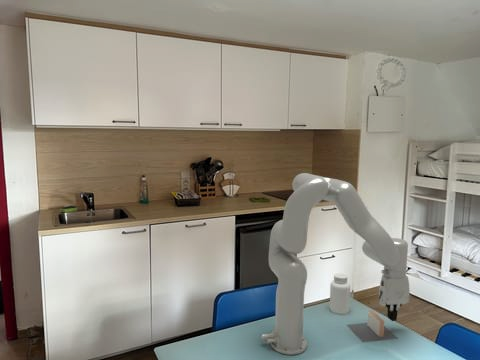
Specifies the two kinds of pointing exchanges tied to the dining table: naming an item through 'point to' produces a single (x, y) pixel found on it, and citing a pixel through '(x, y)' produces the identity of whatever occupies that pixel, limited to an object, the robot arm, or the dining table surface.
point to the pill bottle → (340, 294)
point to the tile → (375, 323)
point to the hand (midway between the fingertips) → (391, 319)
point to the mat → (370, 333)
